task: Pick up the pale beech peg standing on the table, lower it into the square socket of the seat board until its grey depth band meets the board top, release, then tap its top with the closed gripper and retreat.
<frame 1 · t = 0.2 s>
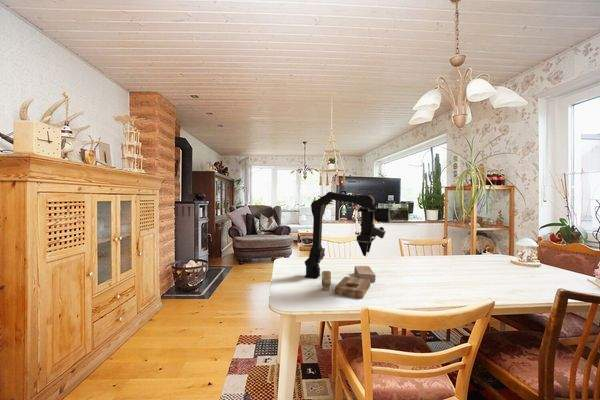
hand: (366, 254, 136), 14 cm above the table, fingers open, 9 cm apart
brick: (364, 278, 147), on the table
peg: (326, 289, 127), on the table
seat board: (353, 289, 127), on the table
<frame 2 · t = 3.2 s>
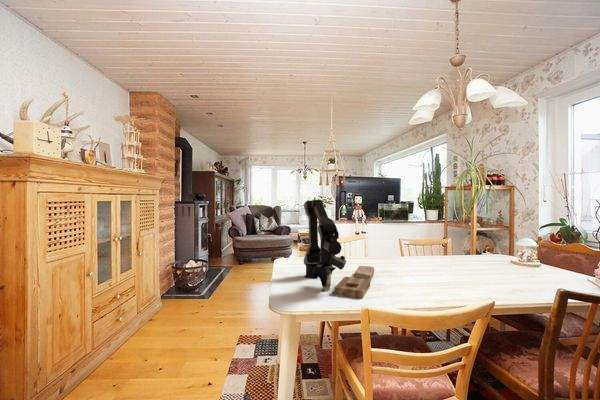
hand: (326, 285, 127), 2 cm above the table, fingers closed on peg, 4 cm apart
peg: (326, 289, 127), on the table, touching gripper
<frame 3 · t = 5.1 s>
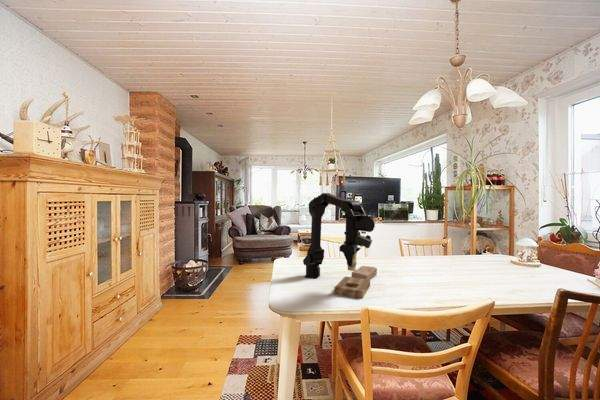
hand: (351, 265, 125), 12 cm above the table, fingers closed on peg, 4 cm apart
peg: (351, 269, 125), point 10 cm above the table, touching gripper
when the fingers open (3 cm above the table, at t = 7.1 s): peg drops 1 cm, resting in seat board.
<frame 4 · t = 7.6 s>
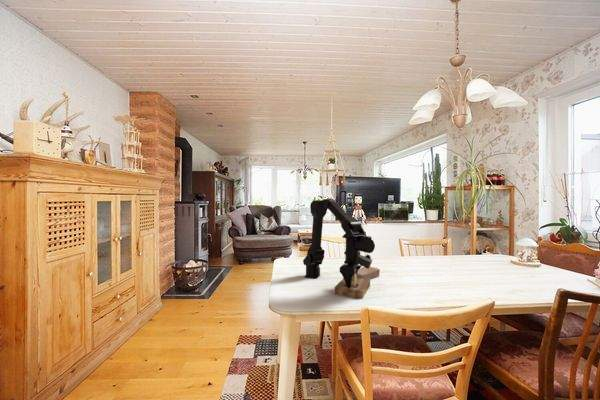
hand: (351, 284, 125), 3 cm above the table, fingers open, 9 cm apart
peg: (351, 292, 125), resting in seat board
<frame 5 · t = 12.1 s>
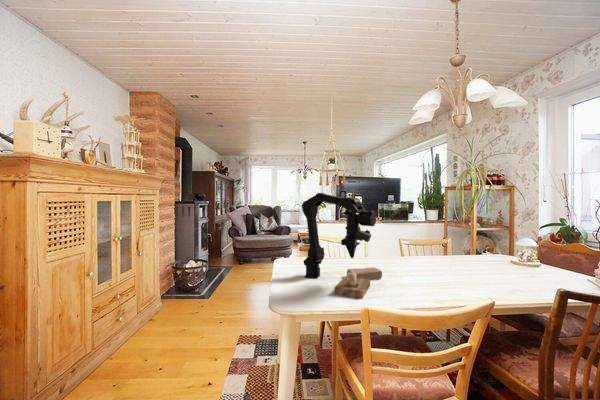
hand: (352, 258, 134), 13 cm above the table, fingers closed
at the end: peg 0.0 cm from the target spot on the seat board, point 0.0 cm above the seat board's base; peg tilted 0°; the gripper is holding nothing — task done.
